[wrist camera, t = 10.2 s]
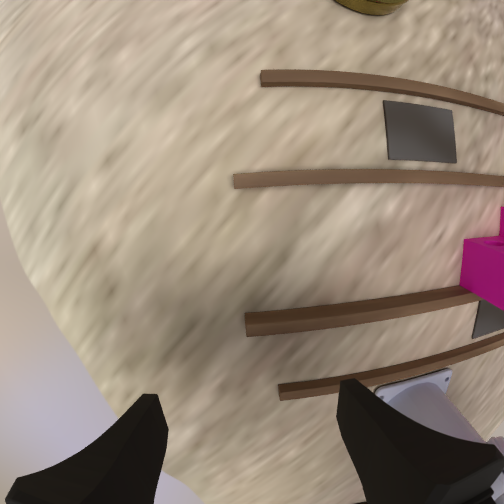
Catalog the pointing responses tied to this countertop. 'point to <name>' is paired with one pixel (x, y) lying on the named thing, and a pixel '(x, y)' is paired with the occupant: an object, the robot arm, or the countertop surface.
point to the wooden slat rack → (399, 148)
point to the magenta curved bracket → (485, 266)
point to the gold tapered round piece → (373, 6)
